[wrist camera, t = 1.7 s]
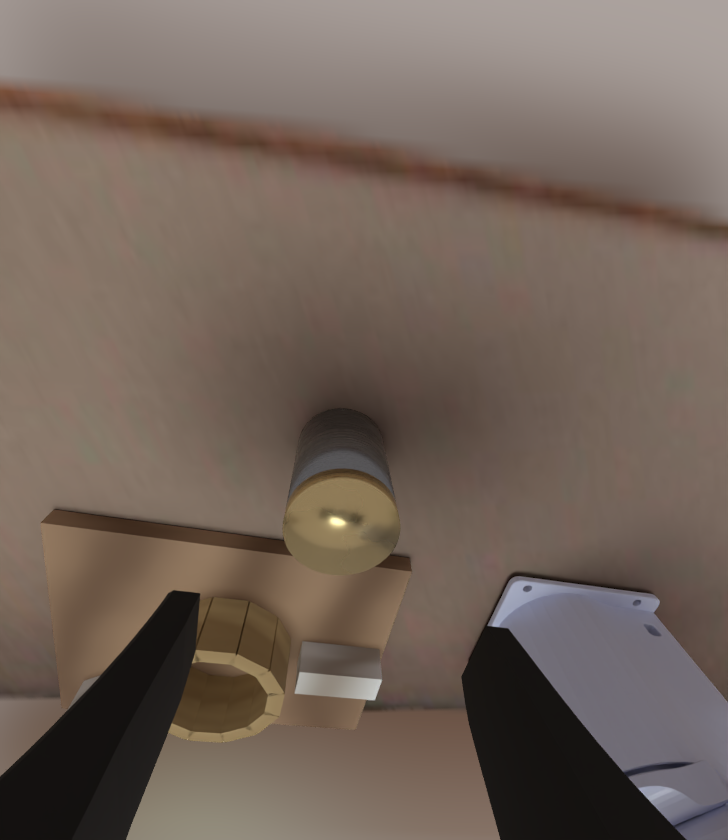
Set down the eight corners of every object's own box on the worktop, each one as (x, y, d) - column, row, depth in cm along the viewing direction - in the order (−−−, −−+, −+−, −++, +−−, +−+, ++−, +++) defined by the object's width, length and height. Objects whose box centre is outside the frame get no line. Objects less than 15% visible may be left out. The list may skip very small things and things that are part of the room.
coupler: (392, 417, 19) (413, 491, 13) (372, 488, 20) (384, 581, 15) (306, 401, 18) (292, 472, 13) (292, 476, 20) (275, 567, 14)
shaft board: (409, 558, 22) (422, 620, 19) (355, 713, 28) (357, 785, 24) (54, 509, 20) (-10, 571, 16) (71, 691, 25) (27, 767, 22)
